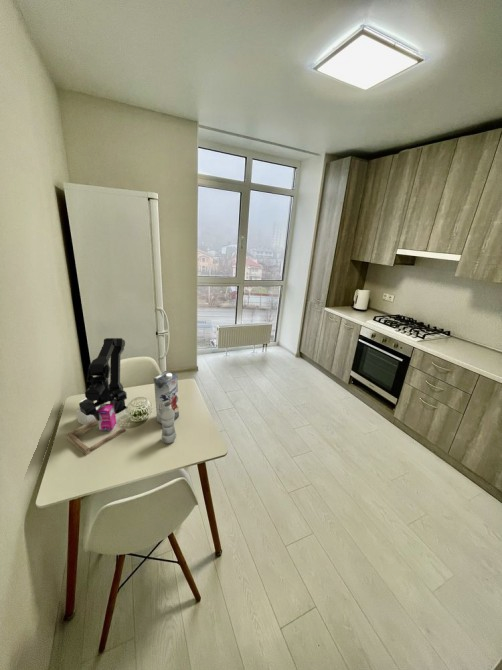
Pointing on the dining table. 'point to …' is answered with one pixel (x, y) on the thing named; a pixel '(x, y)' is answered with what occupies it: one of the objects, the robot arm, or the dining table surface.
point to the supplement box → (106, 417)
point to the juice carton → (166, 392)
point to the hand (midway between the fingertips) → (106, 416)
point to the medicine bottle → (81, 416)
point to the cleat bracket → (73, 434)
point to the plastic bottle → (167, 423)
